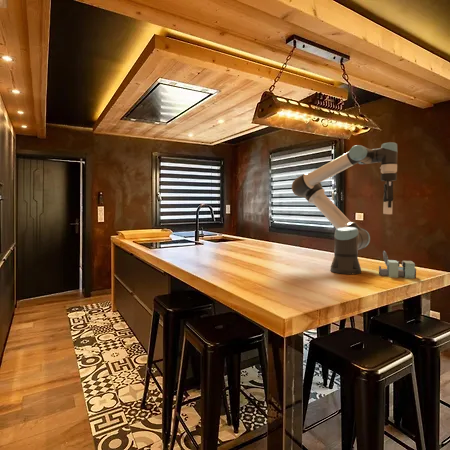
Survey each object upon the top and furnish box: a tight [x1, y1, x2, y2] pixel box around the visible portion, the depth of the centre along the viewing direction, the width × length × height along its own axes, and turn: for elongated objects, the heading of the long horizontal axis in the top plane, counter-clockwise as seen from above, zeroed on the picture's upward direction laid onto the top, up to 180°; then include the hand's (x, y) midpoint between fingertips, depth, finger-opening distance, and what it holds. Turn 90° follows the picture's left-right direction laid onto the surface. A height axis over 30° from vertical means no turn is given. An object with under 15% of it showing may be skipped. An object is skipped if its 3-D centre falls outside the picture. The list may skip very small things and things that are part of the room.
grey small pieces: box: [382, 250, 403, 270], centre depth 173 cm, size 10×11×15 cm
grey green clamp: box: [378, 260, 417, 280], centre depth 160 cm, size 16×8×7 cm, turn 69°
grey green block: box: [386, 259, 400, 279], centre depth 160 cm, size 5×8×7 cm, turn 159°
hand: (387, 214), depth 168 cm, fingers open, 13 cm apart
